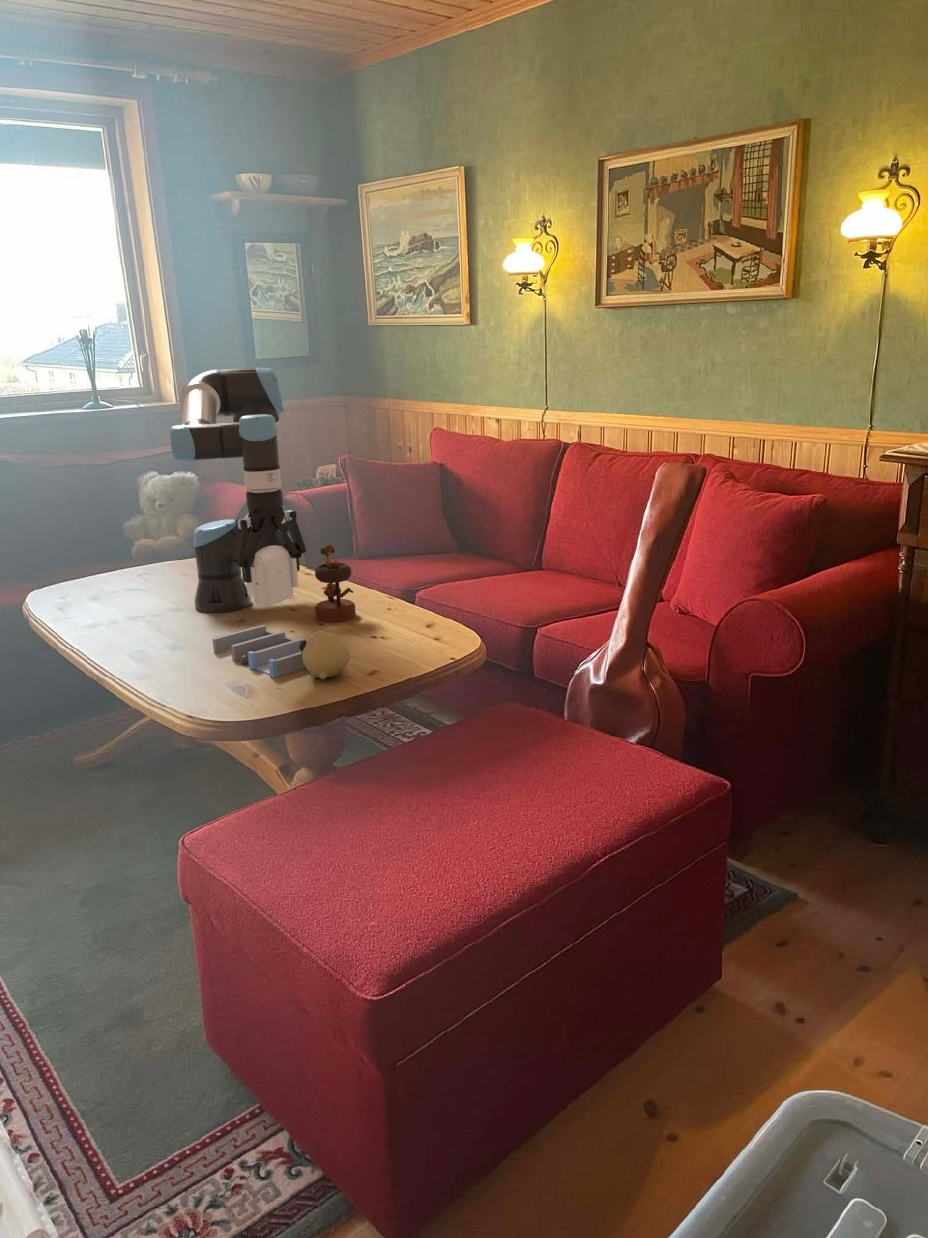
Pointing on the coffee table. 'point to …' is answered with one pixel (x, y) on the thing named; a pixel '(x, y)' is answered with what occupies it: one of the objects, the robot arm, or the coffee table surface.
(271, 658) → the grey shelf rack
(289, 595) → the photo printer
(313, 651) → the tan frog figure
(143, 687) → the coffee table surface
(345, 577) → the music box
